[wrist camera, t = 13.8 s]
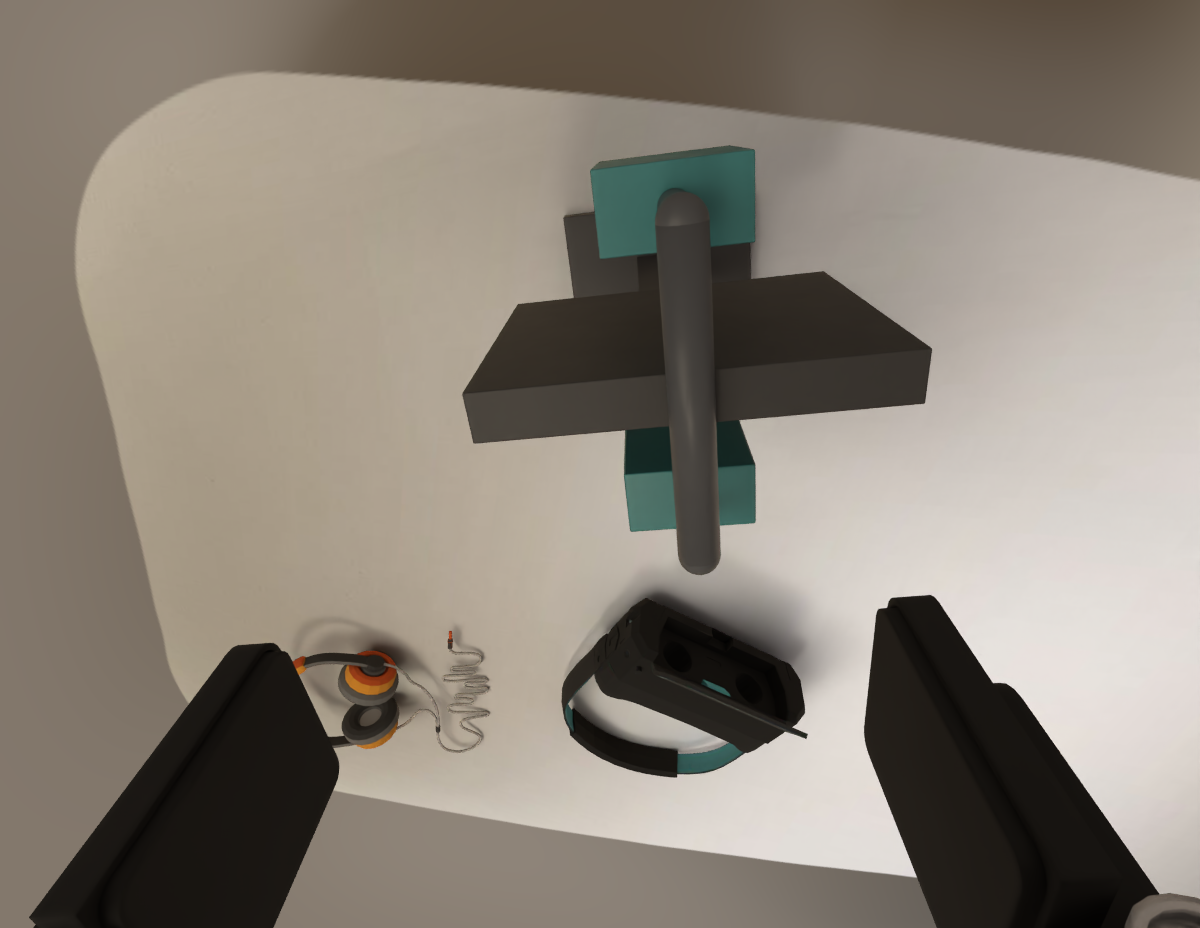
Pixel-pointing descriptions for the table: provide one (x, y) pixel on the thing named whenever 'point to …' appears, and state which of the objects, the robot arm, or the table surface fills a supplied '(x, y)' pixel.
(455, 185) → the table surface
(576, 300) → the monitor
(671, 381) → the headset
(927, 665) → the robot arm
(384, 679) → the headphones
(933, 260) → the table surface
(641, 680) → the virtual reality headset
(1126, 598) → the table surface
